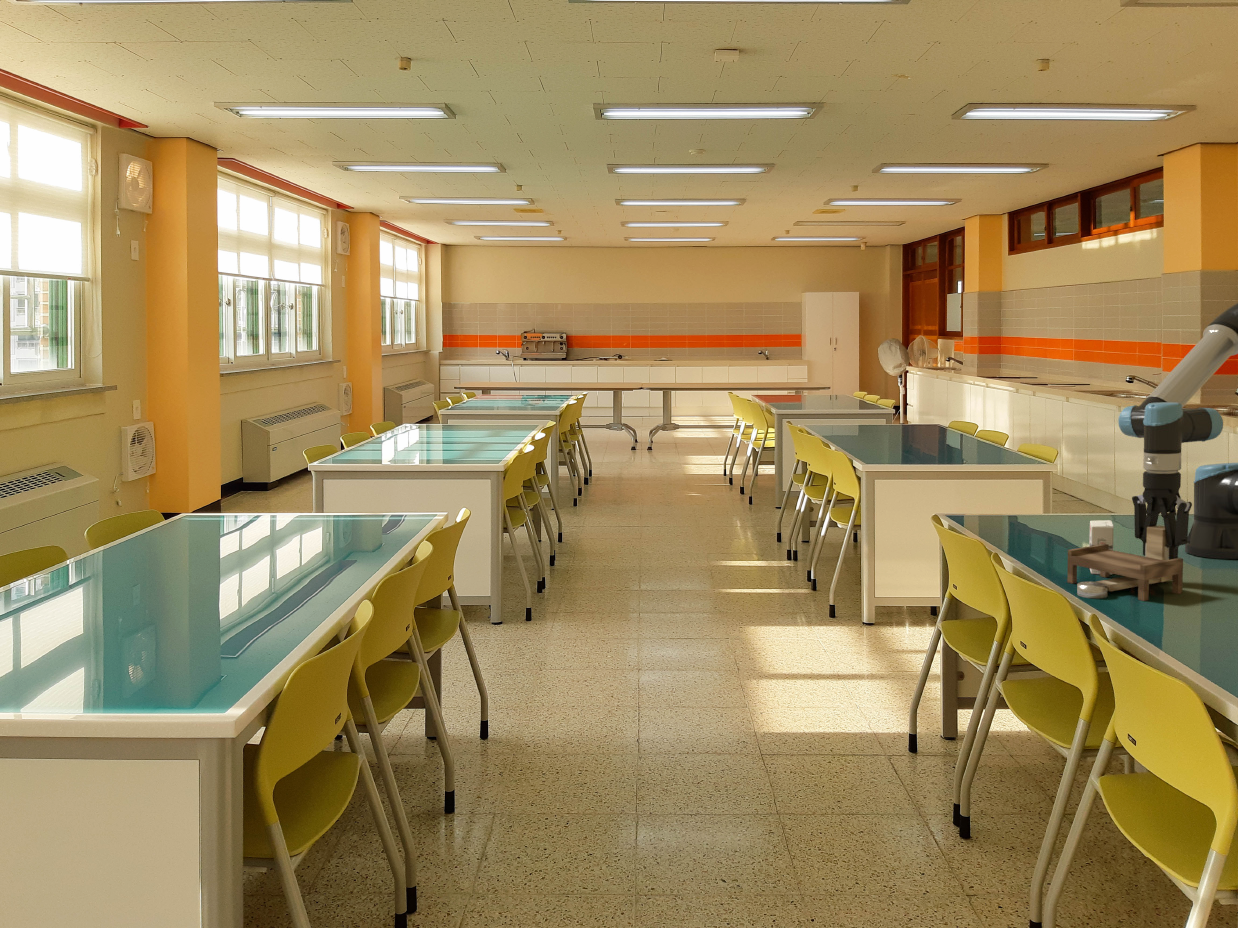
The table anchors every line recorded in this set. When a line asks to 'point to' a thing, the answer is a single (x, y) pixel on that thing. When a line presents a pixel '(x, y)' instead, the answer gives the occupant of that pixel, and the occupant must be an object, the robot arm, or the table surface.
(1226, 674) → the table surface
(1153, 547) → the bookend
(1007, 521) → the table surface
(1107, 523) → the ink box
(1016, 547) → the table surface
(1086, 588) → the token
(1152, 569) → the riser
